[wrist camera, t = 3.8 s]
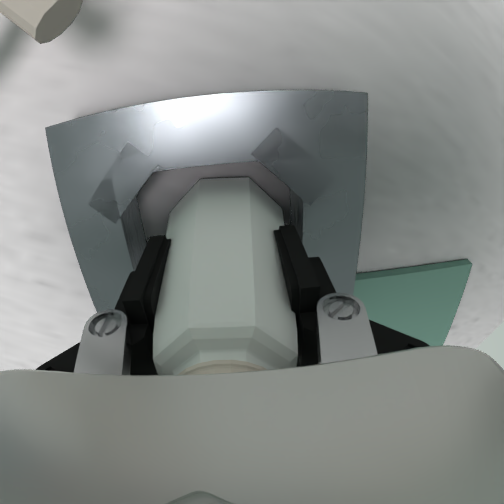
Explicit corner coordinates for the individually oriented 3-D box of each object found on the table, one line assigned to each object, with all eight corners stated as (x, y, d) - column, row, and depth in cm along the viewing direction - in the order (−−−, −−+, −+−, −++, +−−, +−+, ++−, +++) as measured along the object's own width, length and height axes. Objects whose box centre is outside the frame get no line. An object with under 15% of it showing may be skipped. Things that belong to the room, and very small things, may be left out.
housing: (343, 90, 12) (367, 92, 10) (331, 311, 18) (345, 342, 16) (73, 119, 12) (45, 127, 9) (128, 328, 18) (118, 360, 15)
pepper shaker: (155, 260, 15) (92, 480, 6) (189, 155, 13) (89, 358, 3) (258, 291, 16) (287, 507, 7) (304, 197, 14) (423, 412, 5)
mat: (467, 259, 17) (472, 263, 17) (432, 355, 22) (435, 360, 21) (344, 275, 17) (348, 281, 16) (328, 379, 21) (330, 385, 21)
